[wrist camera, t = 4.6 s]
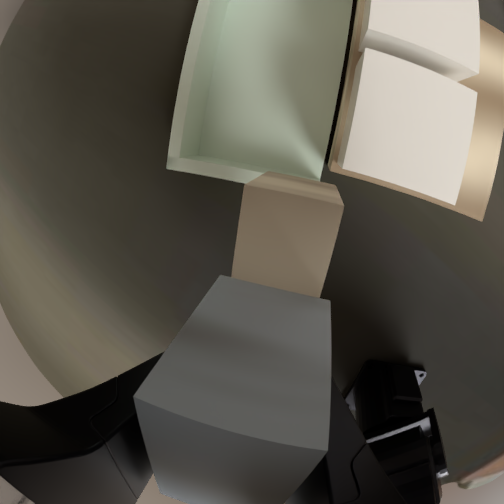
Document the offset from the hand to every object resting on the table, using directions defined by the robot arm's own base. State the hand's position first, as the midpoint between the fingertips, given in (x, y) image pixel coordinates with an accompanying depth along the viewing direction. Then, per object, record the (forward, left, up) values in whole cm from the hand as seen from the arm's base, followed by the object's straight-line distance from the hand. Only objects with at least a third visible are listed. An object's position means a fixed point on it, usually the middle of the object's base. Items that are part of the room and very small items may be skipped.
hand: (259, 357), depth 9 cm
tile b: (+15, -4, -9) cm, 18 cm away
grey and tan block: (0, 0, -4) cm, 4 cm away
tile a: (+8, -4, -9) cm, 13 cm away
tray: (+12, +4, -13) cm, 18 cm away
